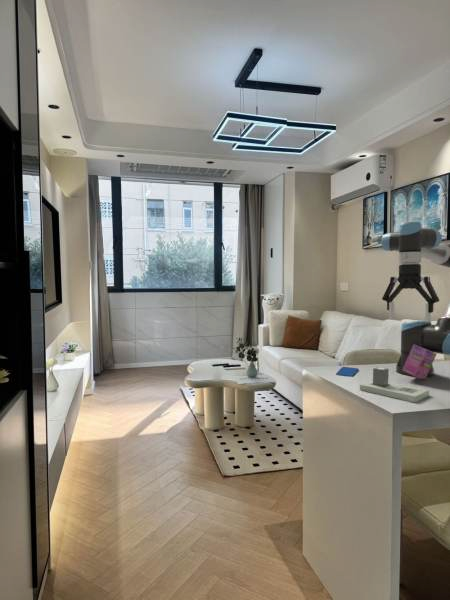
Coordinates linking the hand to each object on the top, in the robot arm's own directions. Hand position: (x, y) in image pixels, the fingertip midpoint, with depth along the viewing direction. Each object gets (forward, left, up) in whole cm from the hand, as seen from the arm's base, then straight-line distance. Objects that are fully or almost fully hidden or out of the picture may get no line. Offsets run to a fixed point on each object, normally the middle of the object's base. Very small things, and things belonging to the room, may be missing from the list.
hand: (409, 320), depth 148 cm
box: (-13, -3, -24) cm, 28 cm away
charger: (+11, -5, -26) cm, 29 cm away
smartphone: (-5, -28, -26) cm, 39 cm away
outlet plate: (+11, 0, -26) cm, 28 cm away
